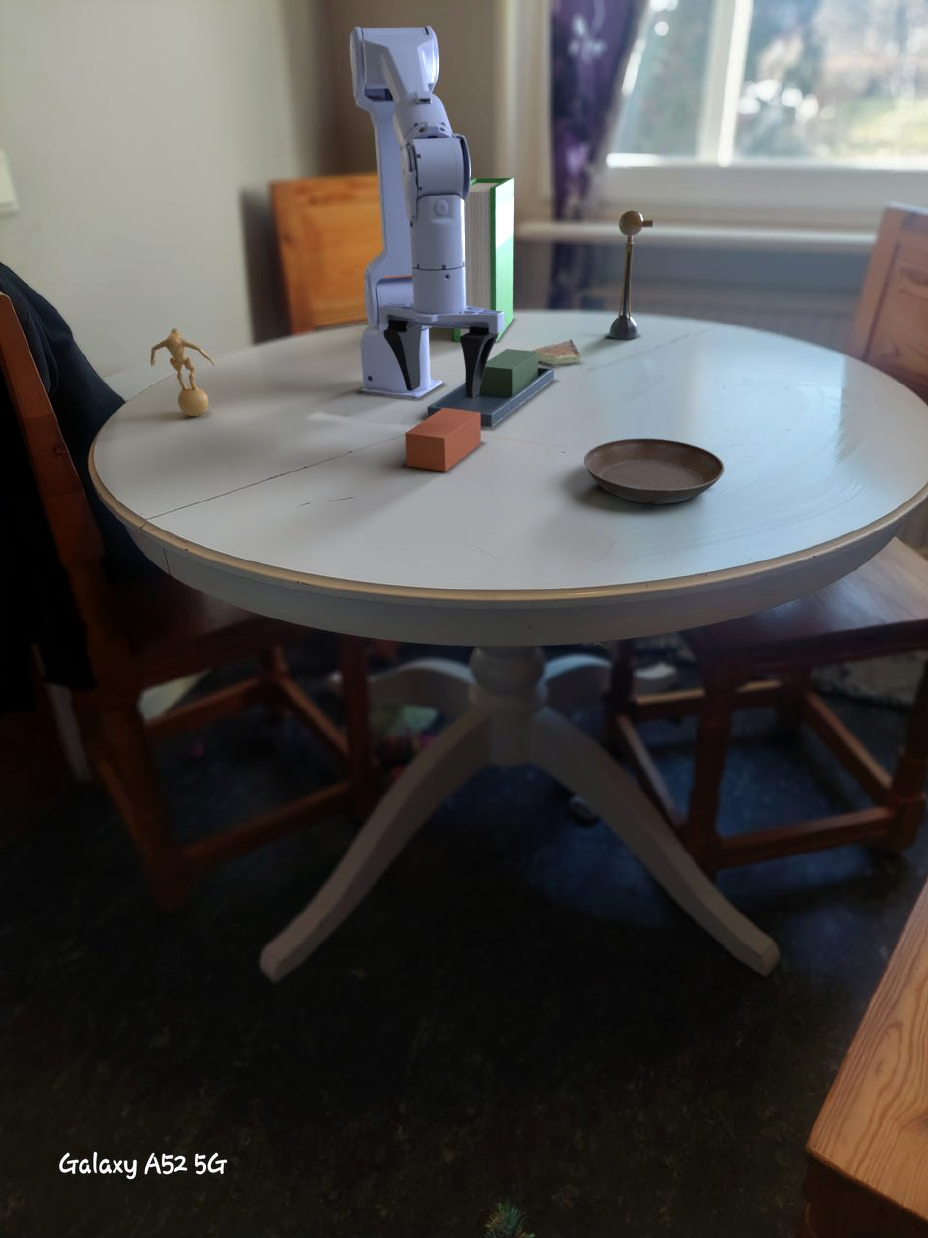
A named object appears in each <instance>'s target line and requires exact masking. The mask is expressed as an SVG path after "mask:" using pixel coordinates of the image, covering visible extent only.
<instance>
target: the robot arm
mask: <svg viewBox="0 0 928 1238" xmlns="http://www.w3.org/2000/svg"><path fill="white" fill-rule="evenodd" d="M439 53H440V52H439V43H438V37H437V34H436V32H435V31H434V30H433V28H432V26H431V25H424V27H360V26H354V28H353V30H352V31H351V32H350V34H349V58H350V70H351V79H352V80H351V81H352V91H353V92H352V94H353V98H354V99H355V105H356V107H358V108H360V109H362V110H364V111H366V112H368V113H369V116H370V118H371V123H372V125H373V129H374V139H375V140H374V141H375V152H376V153H375V156H376V170H377V185H378V200H379V215H380V217H379V218H380V230H381V242H382V243H381V244H382V246H381V247H382V250H381V252H380V253H378V254H377V255H376V256H375V257H374V258H373V259H372V260H371V261H370V262H369V263H368V264H367V265H366V266H365V270H364V272H363V276H364V277H363V278H364V284H363V285H364V286H363V298H364V306H365V314H366V320H367V322H368V324H370V325H368V326H366V327H365V329H364V330H363V332H362V335H361V338H360V360H361V372H362V382H363V383H362V386H363V387H361V388H360V391H361V392H366V393H373V394H374V393H375V394H382V395H390V396H399V397H406V398H407V397H408V398H414V399H415V398H420V397H422V396H424V395H426V394H427V393H428V392H430V391H432V390H434V389H435V388H437V387H438V386H440V385H441V384H442V383H443V381H442V380H437V379H431V357H430V356H431V355H430V353H431V352H430V332H429V331H430V329H431V328H432V327H434V328H445V329H454V328H457V329H469V333H466V334H464V335H462V336H460V341H459V342H460V343H461V344H460V345H461V348H462V354H463V360H464V368H465V369H464V370H465V383H466V395H467V397H468V398H473V397H475V396H476V395H478V394H479V392H480V386H481V381H482V376H483V372H484V369H485V365H486V362H487V361H488V360H489V357H490V354H491V352H492V350H493V347H494V345H495V344H496V342H495V341H496V339H497V338H498V335H499V332H501V331H503V330H504V311H494V310H488V309H482V308H477V307H472V306H466V284H465V234H464V201H463V200H462V199H461V195H462V197H463V199H467V197H468V194H469V189H470V179H471V176H472V175H471V172H472V170H471V169H472V167H471V157H470V150H469V146H468V143H467V142H468V141H467V138H466V136H465V135H463V134H459V133H454V132H453V130H452V128H451V125H450V124H451V123H450V121H449V118H448V115H447V112H446V109H445V106H444V104H443V102H442V101H441V99H440V98H439V97H438V96H437V95H436V94H435V93H433V92H434V88H435V86H436V84H437V82H438V79H439V69H440V68H439V67H440V64H439V63H440V55H439Z"/></svg>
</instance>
